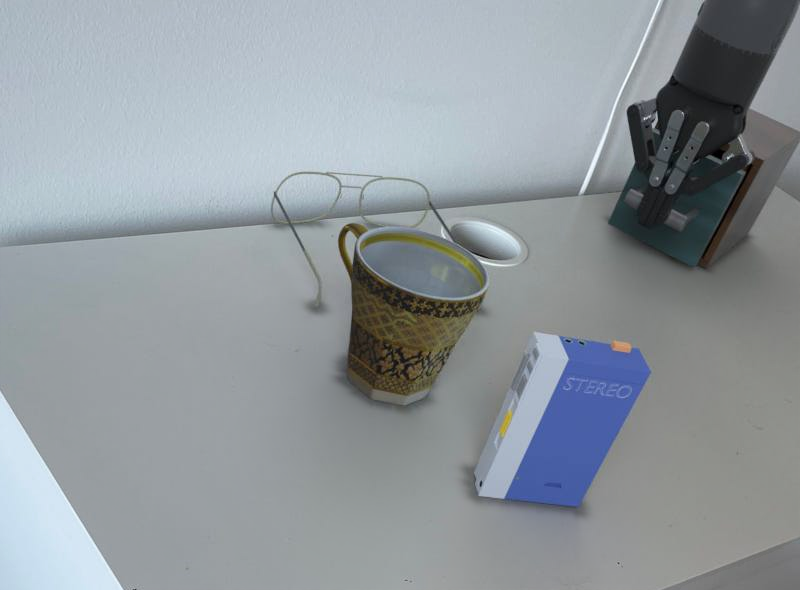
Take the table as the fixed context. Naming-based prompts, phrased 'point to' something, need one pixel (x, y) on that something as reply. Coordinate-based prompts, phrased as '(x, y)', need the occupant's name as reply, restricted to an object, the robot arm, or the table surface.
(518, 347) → the table surface
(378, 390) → the ceramic cup
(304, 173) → the eyeglasses
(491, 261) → the table surface
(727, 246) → the cabinet
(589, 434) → the walkman
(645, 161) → the robot arm
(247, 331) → the table surface
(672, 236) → the drawer
